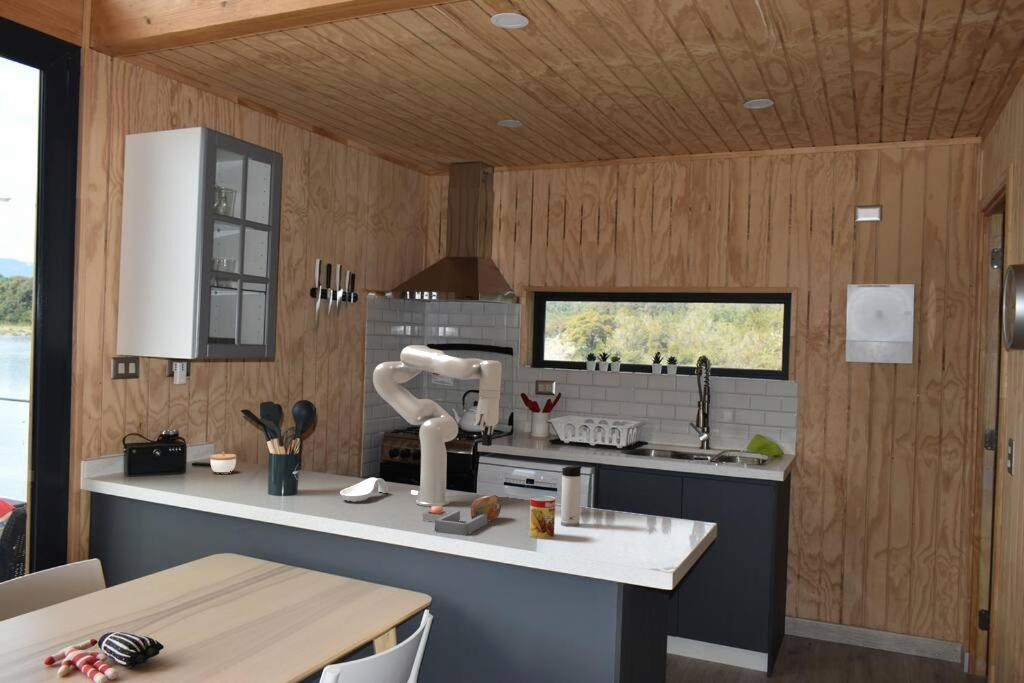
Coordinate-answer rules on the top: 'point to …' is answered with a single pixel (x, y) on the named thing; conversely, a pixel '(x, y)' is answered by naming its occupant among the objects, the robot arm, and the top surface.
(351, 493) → the spoon rest
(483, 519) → the bay
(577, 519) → the travel mug
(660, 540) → the top surface
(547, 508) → the canned food
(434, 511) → the button
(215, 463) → the lidded jar
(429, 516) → the switch box
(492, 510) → the tin
